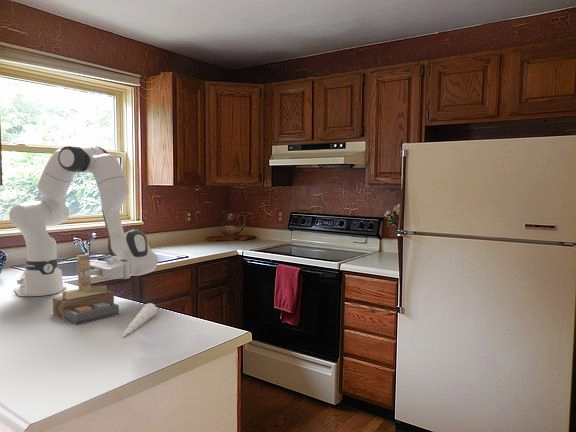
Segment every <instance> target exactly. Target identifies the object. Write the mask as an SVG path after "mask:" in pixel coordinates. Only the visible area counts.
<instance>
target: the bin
mask: <svg viewBox="0 0 576 432" xmlns="http://www.w3.org/2000/svg"><path fill="white" fill-rule="evenodd" d="M103 302H105V303H108V304H110V306H108V307H104V308H99V309H95V310H94V304H99V303H103ZM103 302H98V303H93V304H89V305H84V306H89V307H91V308H92V310H90V311H85V312H81V313H76V312H75V308H79V307H84V306H79V307H74V308H69V309H65V310H64V313H65V319H64V320H65V321H67V322H70V323H72V324H74V325H76V326H77V325H83V324H87V323H89V322H90V323H91V322H95V321H98V320H103V319H107V318H111V317H112V318H113V317H115V316H119V315H120V304H118V303H117V304H116V303H115V302H114V303H111V302H109V301H103Z"/></svg>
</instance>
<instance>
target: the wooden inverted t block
mask: <svg viewBox="0 0 576 432" xmlns="http://www.w3.org/2000/svg"><path fill="white" fill-rule="evenodd" d="M76 261H77V262H76V263H77V277H78V278H77V281H78V288H75V289H70V290H62V296H63V299H67V300H69V299H75V298H80V297H85V296H90V295H95V294H100V293H106V292H107V291H108V290H107V285H105V284H97V285H92V279H91V278H92V277H91V275H89V276H85V275H84V273H83V271H84V270H90V262H91V261H90V254H81V255H80V254H79V255H76Z"/></svg>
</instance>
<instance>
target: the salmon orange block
mask: <svg viewBox="0 0 576 432" xmlns="http://www.w3.org/2000/svg"><path fill="white" fill-rule="evenodd" d="M90 310H92V308H91V307H89V306H84V307H79V308H75V312H76V313H81V312H85V311H90Z"/></svg>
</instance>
